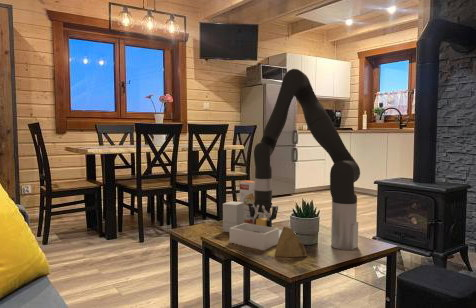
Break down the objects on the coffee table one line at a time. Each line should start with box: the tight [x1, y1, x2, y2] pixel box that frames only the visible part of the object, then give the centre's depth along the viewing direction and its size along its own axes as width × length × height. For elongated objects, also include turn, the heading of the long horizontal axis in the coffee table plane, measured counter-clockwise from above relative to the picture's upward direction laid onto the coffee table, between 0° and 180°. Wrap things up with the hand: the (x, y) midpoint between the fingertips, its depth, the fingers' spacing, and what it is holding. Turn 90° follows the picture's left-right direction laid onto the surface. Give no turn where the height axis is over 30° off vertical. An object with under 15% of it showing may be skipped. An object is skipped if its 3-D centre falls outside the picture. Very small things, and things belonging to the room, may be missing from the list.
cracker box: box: [239, 179, 268, 224], centre depth 177 cm, size 14×6×21 cm, turn 53°
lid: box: [256, 217, 283, 238], centre depth 158 cm, size 20×12×7 cm, turn 55°
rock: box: [273, 226, 308, 258], centre depth 132 cm, size 11×9×10 cm
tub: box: [228, 223, 279, 251], centre depth 148 cm, size 16×11×6 cm
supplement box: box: [222, 200, 244, 233], centre depth 167 cm, size 7×7×13 cm
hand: (262, 228), depth 161 cm, fingers open, 5 cm apart
